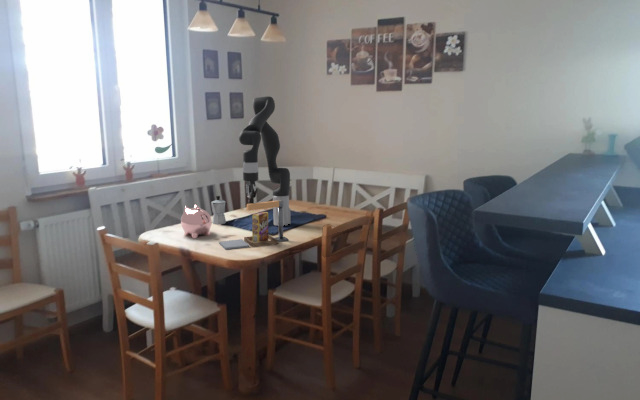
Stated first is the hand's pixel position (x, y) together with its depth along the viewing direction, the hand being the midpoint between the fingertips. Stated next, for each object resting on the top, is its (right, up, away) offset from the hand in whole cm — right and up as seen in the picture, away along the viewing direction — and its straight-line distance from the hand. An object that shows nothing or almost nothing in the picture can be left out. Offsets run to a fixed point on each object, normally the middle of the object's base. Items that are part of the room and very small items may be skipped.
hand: (251, 205), depth 254 cm
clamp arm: (+7, -1, +2) cm, 7 cm away
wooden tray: (+4, -19, +6) cm, 20 cm away
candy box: (+4, -19, +6) cm, 20 cm away
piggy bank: (-33, -17, +23) cm, 44 cm away
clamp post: (+14, -18, +10) cm, 25 cm away
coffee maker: (-25, -13, +49) cm, 56 cm away
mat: (-9, -20, 0) cm, 22 cm away
